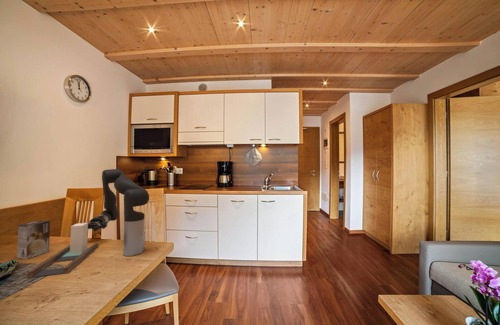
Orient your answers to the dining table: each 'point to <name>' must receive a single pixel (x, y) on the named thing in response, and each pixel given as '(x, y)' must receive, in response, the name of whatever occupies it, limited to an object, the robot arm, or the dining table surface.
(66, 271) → the frame
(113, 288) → the dining table surface
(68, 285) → the dining table surface
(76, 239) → the cream block
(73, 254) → the pad
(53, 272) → the grey base plate
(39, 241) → the coffee box
